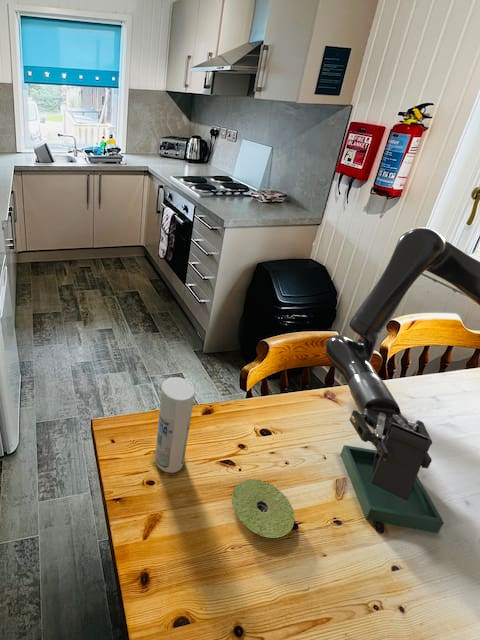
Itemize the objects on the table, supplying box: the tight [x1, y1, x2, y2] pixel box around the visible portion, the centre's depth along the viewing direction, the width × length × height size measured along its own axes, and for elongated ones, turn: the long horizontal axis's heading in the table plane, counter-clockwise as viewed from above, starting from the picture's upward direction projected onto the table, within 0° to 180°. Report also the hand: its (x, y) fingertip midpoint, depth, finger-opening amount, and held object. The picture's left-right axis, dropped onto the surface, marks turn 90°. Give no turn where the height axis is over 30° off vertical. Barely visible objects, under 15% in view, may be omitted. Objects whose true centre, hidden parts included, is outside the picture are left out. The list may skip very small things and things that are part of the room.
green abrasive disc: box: [231, 478, 295, 539], centre depth 75 cm, size 11×11×2 cm
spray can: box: [154, 376, 196, 474], centre depth 81 cm, size 6×6×20 cm
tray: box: [340, 444, 445, 534], centre depth 80 cm, size 13×15×3 cm
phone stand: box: [371, 423, 431, 501], centre depth 77 cm, size 9×6×12 cm, turn 144°
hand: (407, 461), depth 74 cm, fingers closed on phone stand, 6 cm apart
